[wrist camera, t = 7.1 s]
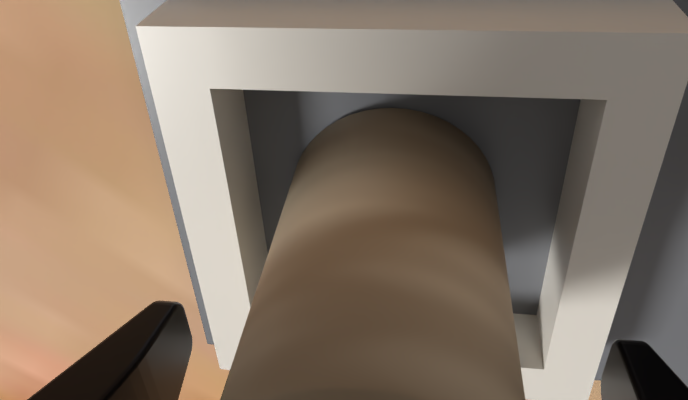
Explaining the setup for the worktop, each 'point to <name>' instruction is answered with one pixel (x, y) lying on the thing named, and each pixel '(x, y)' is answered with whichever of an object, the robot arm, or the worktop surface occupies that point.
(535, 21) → the board
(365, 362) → the beige rounded cylinder
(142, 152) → the worktop surface
